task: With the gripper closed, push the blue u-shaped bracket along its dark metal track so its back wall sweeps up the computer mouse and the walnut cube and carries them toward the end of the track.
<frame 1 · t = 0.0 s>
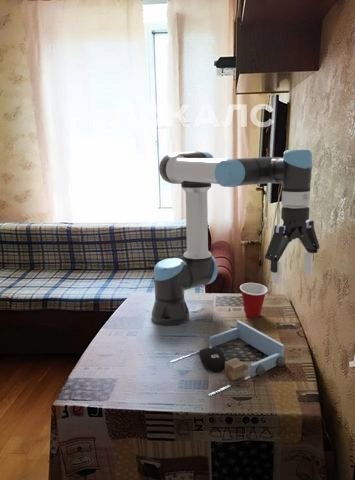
hand: (292, 277, 109), 28 cm above the table, fingers open, 13 cm apart
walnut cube: (234, 374, 110), on the table
track: (226, 361, 117), on the table
plastic cup: (253, 315, 149), on the table
computer mouse: (213, 363, 117), on the table
blue u-shaped bracket: (245, 345, 120), point 3 cm above the table, slide at 0.0 cm
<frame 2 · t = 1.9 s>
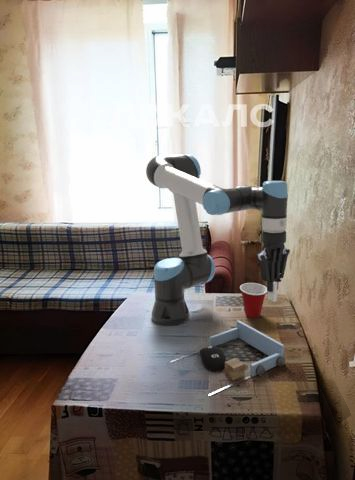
hand: (272, 299, 122), 16 cm above the table, fingers closed
nothing on the table moved.
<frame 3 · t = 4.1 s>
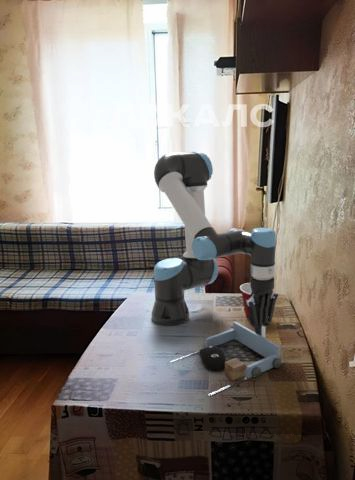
hand: (260, 343, 124), 2 cm above the table, fingers closed
blue u-shaped bracket: (241, 347, 119), point 3 cm above the table, slide at 1.6 cm, touching gripper
everything else where it was.
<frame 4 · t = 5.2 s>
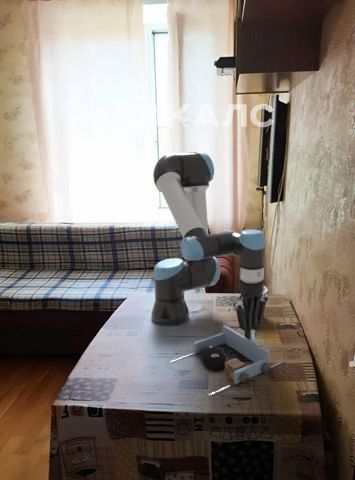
hand: (250, 347, 121), 2 cm above the table, fingers closed
blue u-shaped bracket: (229, 351, 117), point 3 cm above the table, slide at 6.3 cm, touching gripper
everything else where it was.
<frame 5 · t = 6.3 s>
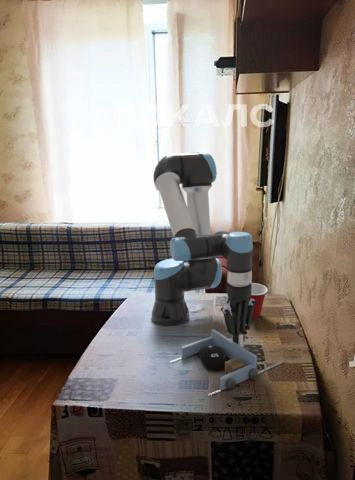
hand: (238, 351, 119), 2 cm above the table, fingers closed
blue u-shaped bracket: (217, 356, 114), point 3 cm above the table, slide at 11.3 cm, touching gripper
everything else where it was.
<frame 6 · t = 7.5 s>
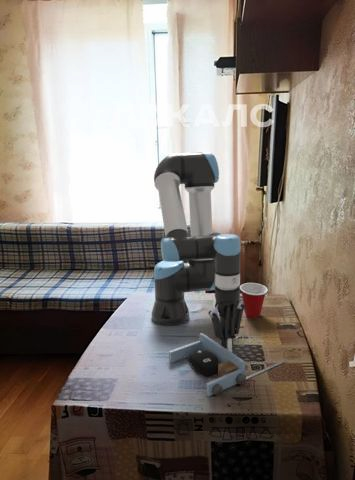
hand: (227, 356, 116), 2 cm above the table, fingers closed
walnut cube: (227, 377, 109), on the table, touching blue u-shaped bracket
computer mouse: (204, 367, 115), on the table
blue u-shaped bracket: (205, 361, 112), point 3 cm above the table, slide at 16.0 cm, touching gripper, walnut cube
everything else where it was.
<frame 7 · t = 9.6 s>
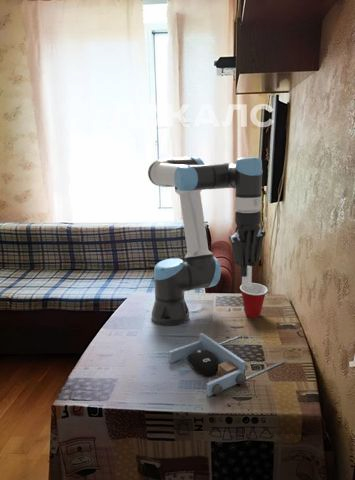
hand: (246, 285, 115), 24 cm above the table, fingers closed
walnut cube: (227, 377, 109), on the table
blue u-shaped bracket: (205, 361, 112), point 3 cm above the table, slide at 16.0 cm
everything else where it was.
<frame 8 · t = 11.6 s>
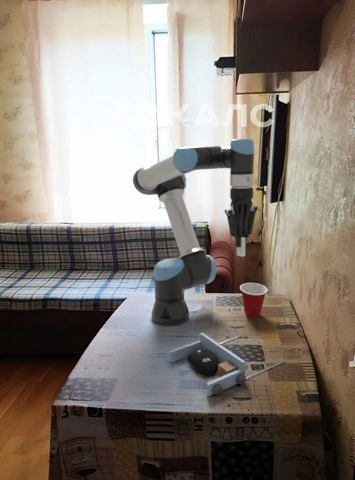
hand: (240, 255, 128), 29 cm above the table, fingers closed
nothing on the table moved.
at the end: blue u-shaped bracket slide at 15.9 cm; computer mouse inside the target area on the blue u-shaped bracket (3.0 cm from its centre), point -0.5 cm above the blue u-shaped bracket's base; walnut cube inside the target area on the blue u-shaped bracket (7.6 cm from its centre), point 0.0 cm above the blue u-shaped bracket's base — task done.
